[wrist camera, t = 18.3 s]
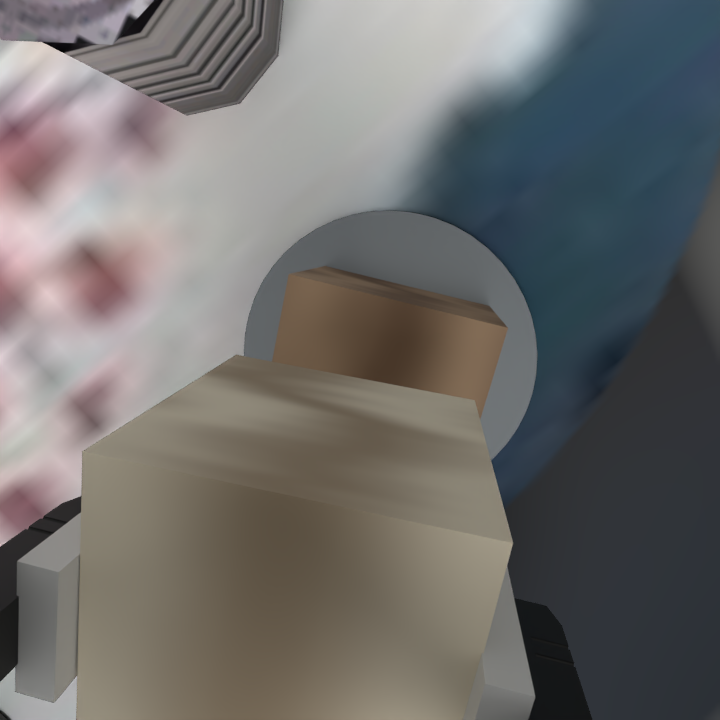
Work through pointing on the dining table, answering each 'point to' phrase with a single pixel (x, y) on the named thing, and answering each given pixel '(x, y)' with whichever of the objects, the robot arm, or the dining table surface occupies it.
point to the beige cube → (288, 552)
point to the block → (389, 333)
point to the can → (159, 43)
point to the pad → (423, 271)
